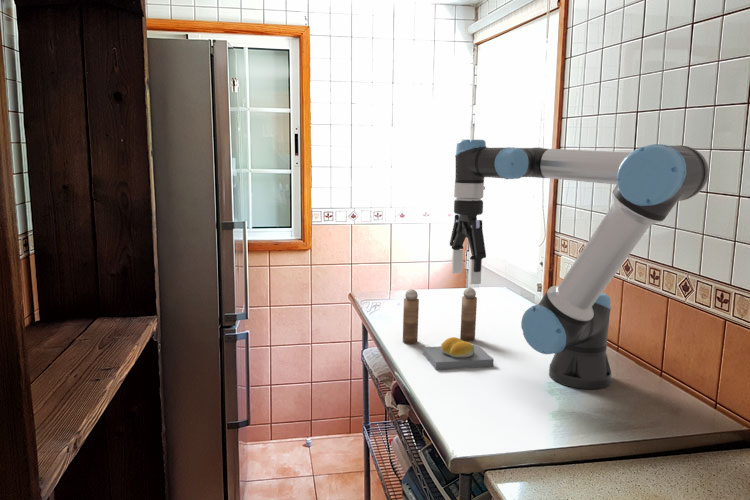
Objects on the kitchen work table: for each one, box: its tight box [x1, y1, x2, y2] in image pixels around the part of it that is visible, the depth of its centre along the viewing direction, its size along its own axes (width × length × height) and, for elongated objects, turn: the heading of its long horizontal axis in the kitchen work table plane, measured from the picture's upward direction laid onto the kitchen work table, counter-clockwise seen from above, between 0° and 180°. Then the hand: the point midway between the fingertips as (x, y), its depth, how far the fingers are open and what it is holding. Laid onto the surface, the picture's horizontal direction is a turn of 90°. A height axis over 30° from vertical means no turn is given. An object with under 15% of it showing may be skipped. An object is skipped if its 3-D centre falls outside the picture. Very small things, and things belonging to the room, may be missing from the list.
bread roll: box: [440, 336, 474, 358], centre depth 169 cm, size 8×9×4 cm
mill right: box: [459, 287, 478, 342], centre depth 186 cm, size 4×4×16 cm
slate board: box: [422, 344, 494, 371], centre depth 170 cm, size 12×16×2 cm
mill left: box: [402, 288, 420, 345], centre depth 183 cm, size 4×4×16 cm
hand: (465, 278), depth 166 cm, fingers open, 13 cm apart
